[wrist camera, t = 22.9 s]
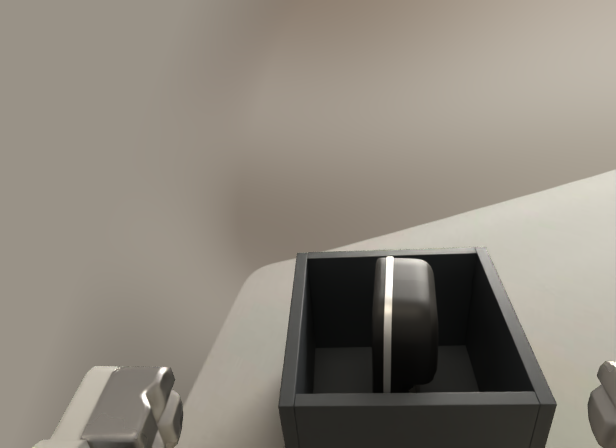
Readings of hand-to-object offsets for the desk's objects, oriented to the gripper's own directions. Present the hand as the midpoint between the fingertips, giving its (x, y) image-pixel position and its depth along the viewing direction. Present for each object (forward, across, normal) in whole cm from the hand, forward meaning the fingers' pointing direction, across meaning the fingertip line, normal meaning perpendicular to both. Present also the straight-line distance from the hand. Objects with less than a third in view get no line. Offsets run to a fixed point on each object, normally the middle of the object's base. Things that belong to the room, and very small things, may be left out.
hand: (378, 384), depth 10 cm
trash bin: (+16, -3, +23) cm, 28 cm away
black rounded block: (+17, -3, +22) cm, 28 cm away
